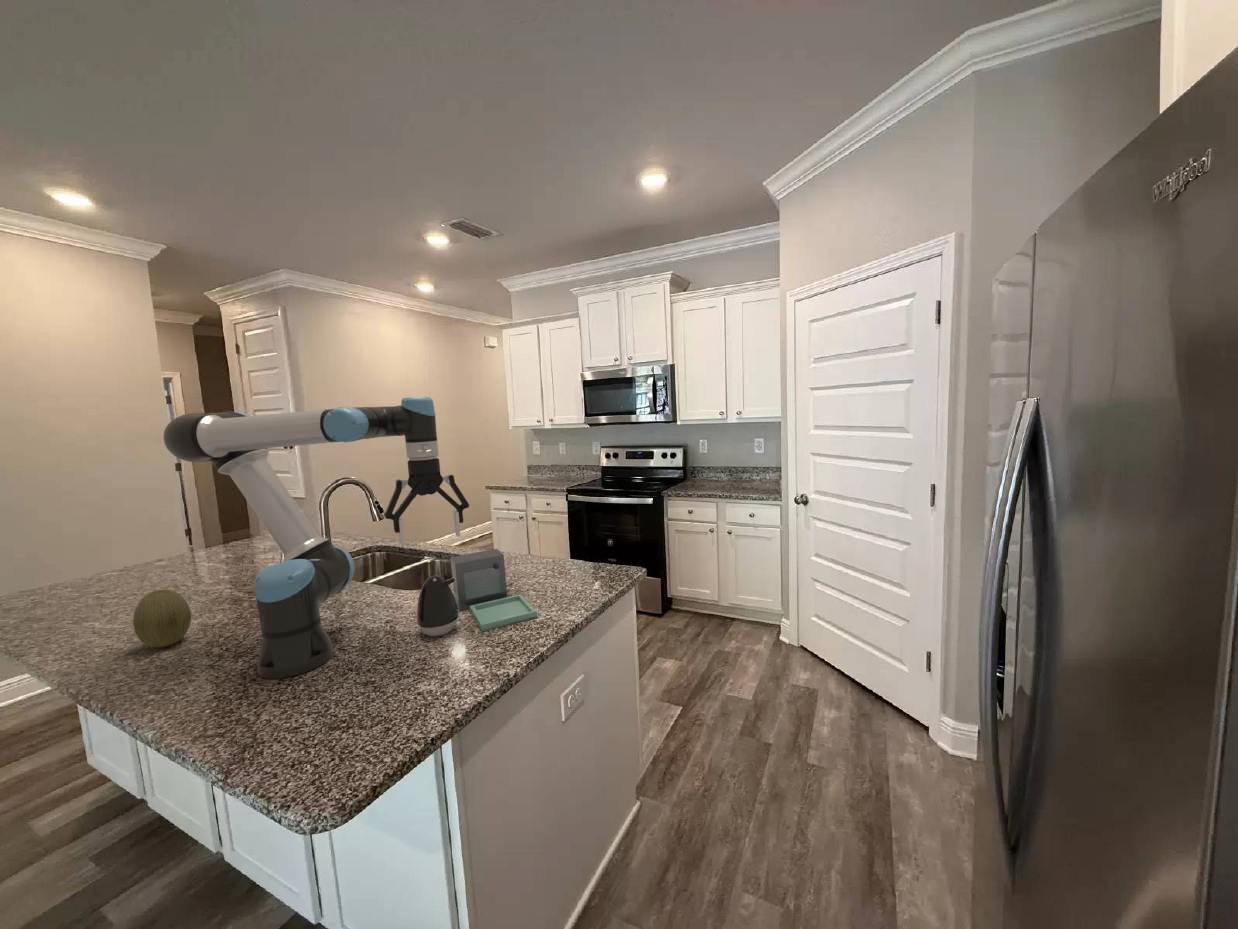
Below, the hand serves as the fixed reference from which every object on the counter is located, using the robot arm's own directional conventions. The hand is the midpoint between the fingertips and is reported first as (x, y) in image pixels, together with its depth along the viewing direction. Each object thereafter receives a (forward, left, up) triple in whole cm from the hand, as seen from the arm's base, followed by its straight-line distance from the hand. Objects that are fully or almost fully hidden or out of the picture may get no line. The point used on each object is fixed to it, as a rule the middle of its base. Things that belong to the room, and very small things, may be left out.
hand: (431, 540), depth 128 cm
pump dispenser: (0, -1, -25) cm, 25 cm away
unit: (+14, +14, -25) cm, 31 cm away
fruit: (-64, +34, -25) cm, 77 cm away
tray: (+17, 0, -25) cm, 30 cm away
